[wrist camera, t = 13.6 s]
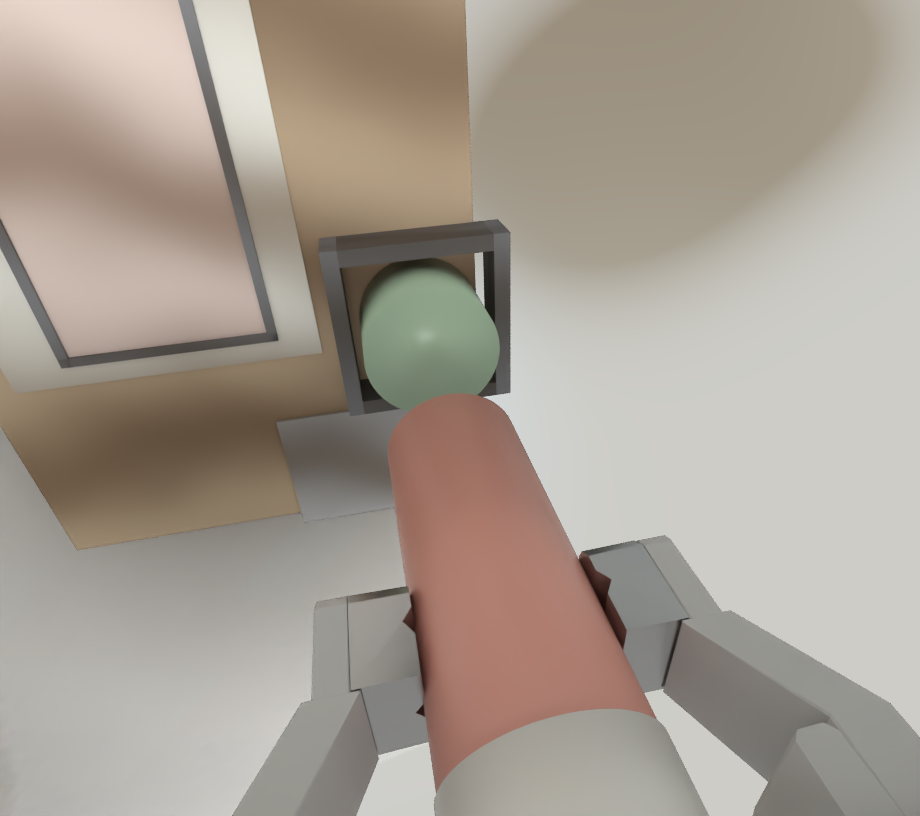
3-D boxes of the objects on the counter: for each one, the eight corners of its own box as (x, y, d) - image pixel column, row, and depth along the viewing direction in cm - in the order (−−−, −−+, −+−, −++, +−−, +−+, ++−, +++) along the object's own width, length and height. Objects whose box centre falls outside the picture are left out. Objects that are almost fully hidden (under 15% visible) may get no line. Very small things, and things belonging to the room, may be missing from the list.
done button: (479, 360, 20) (500, 403, 18) (368, 375, 20) (373, 422, 17) (475, 250, 18) (499, 282, 15) (350, 264, 17) (353, 300, 15)
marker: (464, 515, 14) (654, 1166, 6) (359, 470, 13) (413, 1246, 4) (542, 427, 13) (906, 1070, 5) (437, 367, 12) (696, 1126, 3)
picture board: (494, 470, 25) (510, 511, 23) (93, 536, 23) (67, 590, 20) (480, -177, 14) (509, -220, 11) (-321, -171, 11) (-478, -224, 9)
